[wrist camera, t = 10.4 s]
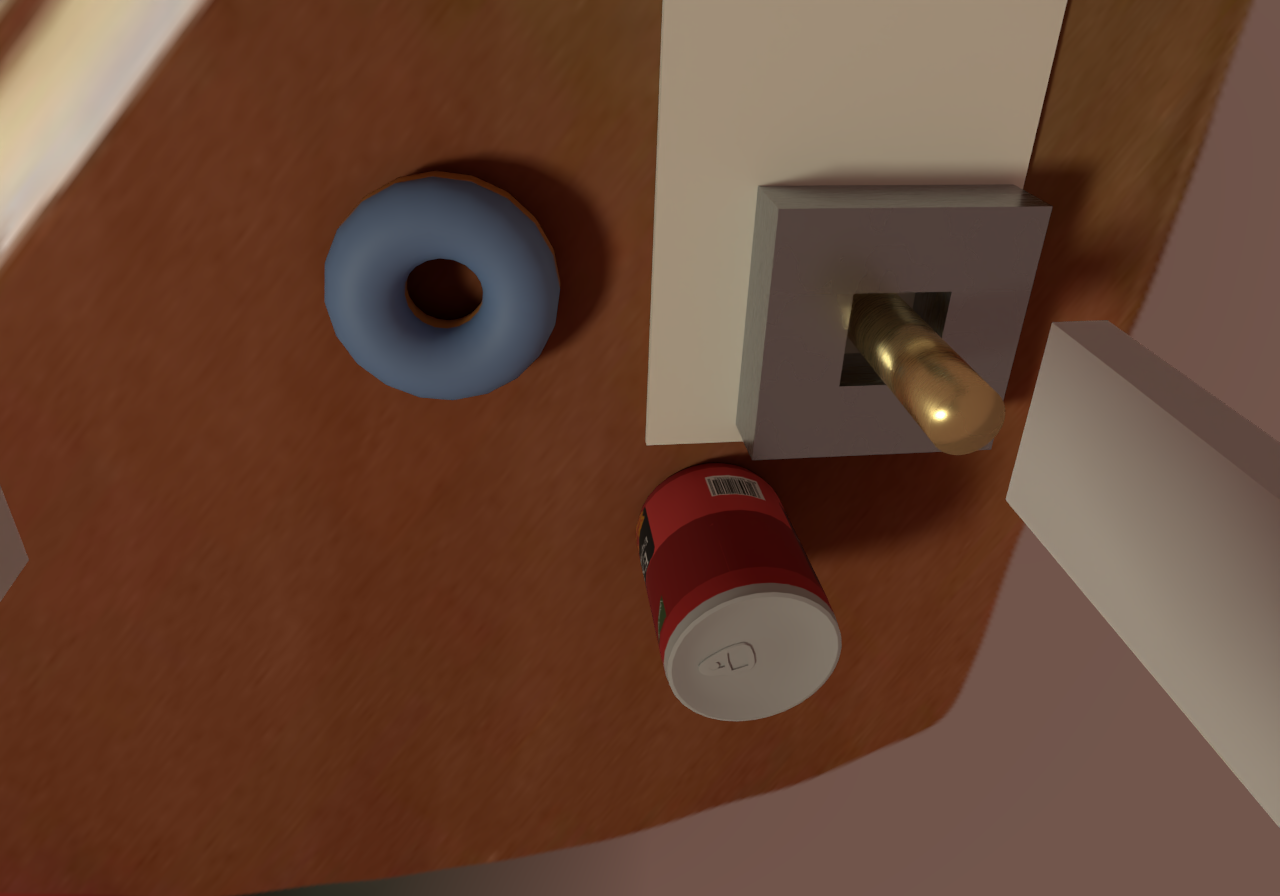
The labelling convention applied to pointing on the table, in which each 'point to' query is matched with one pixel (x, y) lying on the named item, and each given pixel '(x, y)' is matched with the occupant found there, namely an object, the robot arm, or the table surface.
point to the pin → (925, 374)
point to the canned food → (733, 595)
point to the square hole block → (875, 263)
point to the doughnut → (448, 229)
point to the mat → (813, 148)
